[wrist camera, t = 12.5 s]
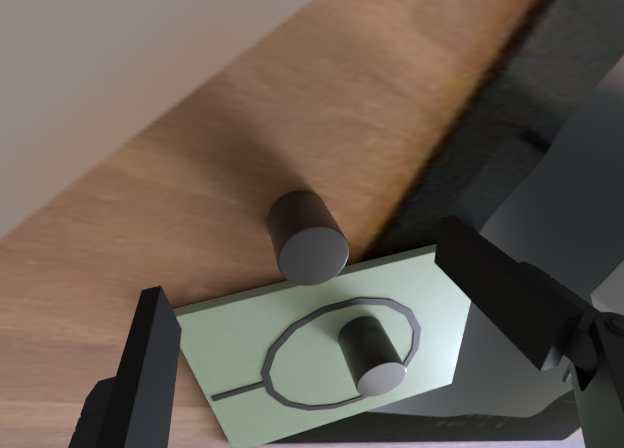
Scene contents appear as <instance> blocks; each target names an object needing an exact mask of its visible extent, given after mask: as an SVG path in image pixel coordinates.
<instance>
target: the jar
mask: <svg viewBox="0 0 624 448" xmlns="http://www.w3.org/2000/svg"><path fill="white" fill-rule="evenodd" d="M590 297H591V302H592V306H593V307H595V308H596V309H597V310H599V311H601V312H615V313H618V314H621V315H624V259H623V260H622V261H621V262H620V263H619V264H618V265H617V266H616V267H615V268H614V269H613V270H612V271H611V272H610V273H609V274H608V275H607V276H606V277H605V278H604V279H603V280H602V281H601V283H600V284H598V286H597V287H596V288H595V289H594V290H593V291H592V292H591V293H590Z"/></svg>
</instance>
